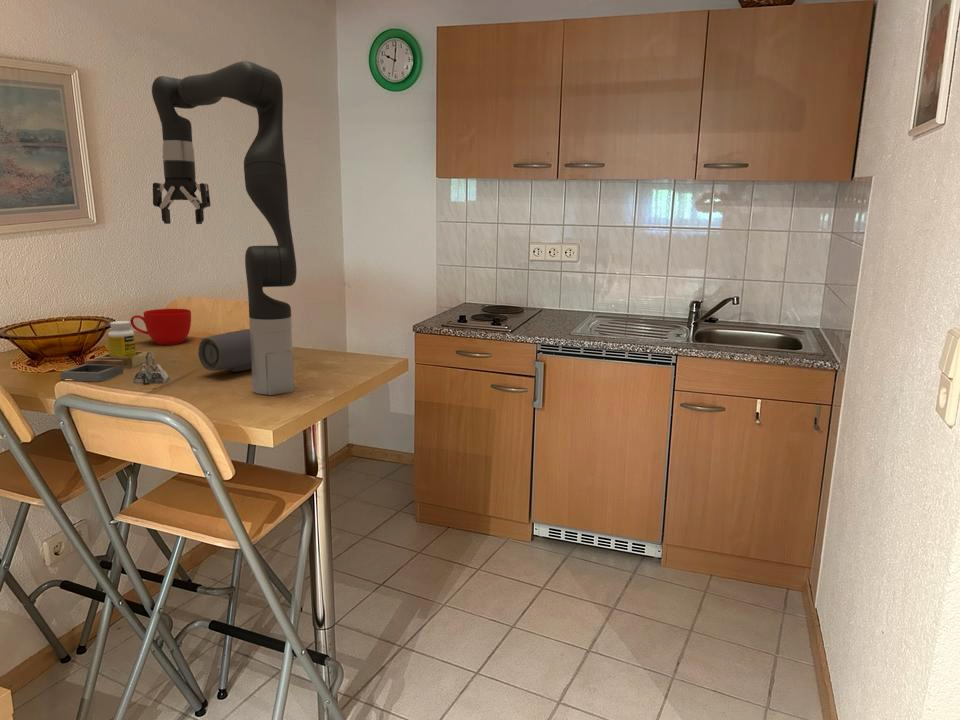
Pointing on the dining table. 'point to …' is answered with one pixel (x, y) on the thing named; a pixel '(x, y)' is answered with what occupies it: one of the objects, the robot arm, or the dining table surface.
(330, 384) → the dining table surface
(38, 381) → the dining table surface
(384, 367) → the dining table surface
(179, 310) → the ceramic cup
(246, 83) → the robot arm
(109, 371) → the graphite socket
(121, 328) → the pill bottle
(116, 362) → the door edge sill
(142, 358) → the brass socket
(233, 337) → the bluetooth speaker
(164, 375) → the house of cards
